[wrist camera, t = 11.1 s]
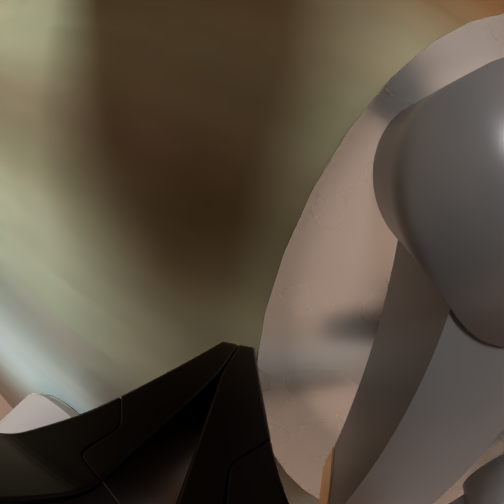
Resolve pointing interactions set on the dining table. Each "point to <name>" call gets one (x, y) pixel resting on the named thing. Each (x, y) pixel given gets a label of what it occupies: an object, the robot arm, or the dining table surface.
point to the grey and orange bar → (484, 484)
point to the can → (35, 413)
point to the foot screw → (433, 303)
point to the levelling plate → (348, 273)
